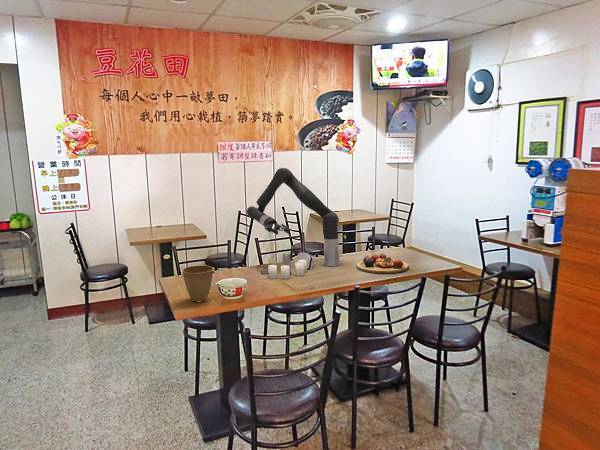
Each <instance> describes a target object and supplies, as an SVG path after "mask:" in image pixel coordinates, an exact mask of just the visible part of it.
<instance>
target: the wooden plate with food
mask: <svg viewBox="0 0 600 450" xmlns="http://www.w3.org/2000/svg"><path fill="white" fill-rule="evenodd" d="M356 269H358V270H360V271H362V272H365V273H371V274H397V273H401V272H402V273H403V272H406V271H407V270H408V269H410V265H409V264H408V263H407V262H406V261H402V260H401V259H394V258H391V256H387V255H386V254H385V253H383V252H382V253H380V254H372V255H369V254H367V255H365V256H364V258H363V260H361V261H359V262H357V263H356Z"/></svg>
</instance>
